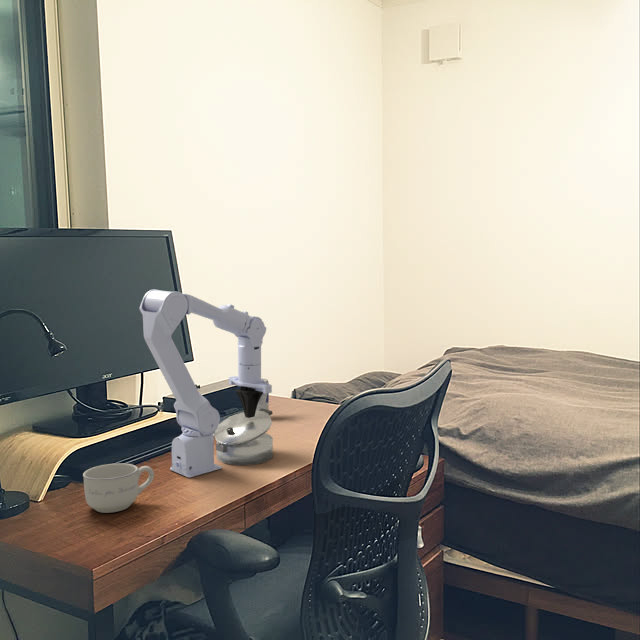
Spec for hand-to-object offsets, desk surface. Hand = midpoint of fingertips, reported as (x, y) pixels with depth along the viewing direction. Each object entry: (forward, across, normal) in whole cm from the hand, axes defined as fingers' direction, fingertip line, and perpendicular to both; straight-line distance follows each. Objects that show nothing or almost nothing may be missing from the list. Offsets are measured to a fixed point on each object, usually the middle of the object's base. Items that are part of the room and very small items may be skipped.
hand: (249, 416), depth 175 cm
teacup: (+10, -8, +41) cm, 43 cm away
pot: (+10, 0, +2) cm, 10 cm away
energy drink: (+10, +25, -24) cm, 36 cm away
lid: (+3, 0, +2) cm, 3 cm away
